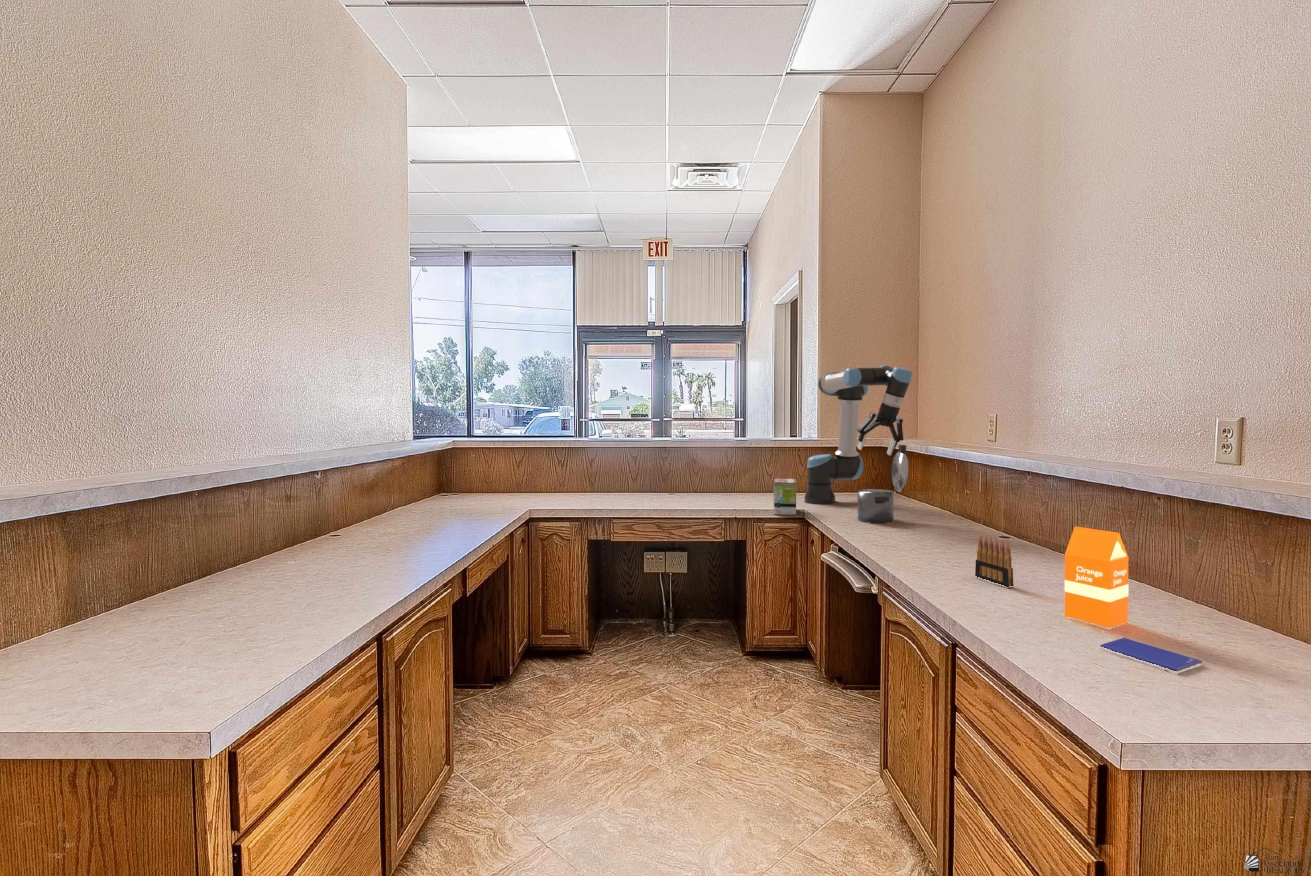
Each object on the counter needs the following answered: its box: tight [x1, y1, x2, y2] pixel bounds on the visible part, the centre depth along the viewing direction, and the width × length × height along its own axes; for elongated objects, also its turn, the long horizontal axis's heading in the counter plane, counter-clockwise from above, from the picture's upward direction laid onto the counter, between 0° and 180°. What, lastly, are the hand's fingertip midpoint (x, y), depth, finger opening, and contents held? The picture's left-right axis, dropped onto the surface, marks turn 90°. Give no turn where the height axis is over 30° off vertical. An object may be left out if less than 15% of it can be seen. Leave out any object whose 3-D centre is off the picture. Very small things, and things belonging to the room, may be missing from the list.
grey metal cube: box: [857, 488, 895, 524], centre depth 249 cm, size 18×14×12 cm
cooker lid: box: [891, 444, 910, 493], centre depth 248 cm, size 15×19×3 cm
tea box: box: [773, 478, 797, 516], centre depth 274 cm, size 15×10×15 cm, turn 168°
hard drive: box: [1099, 637, 1203, 672], centre depth 111 cm, size 2×8×12 cm
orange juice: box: [1064, 526, 1130, 628], centre depth 130 cm, size 8×9×20 cm
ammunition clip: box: [974, 534, 1014, 587], centre depth 159 cm, size 11×2×12 cm, turn 17°
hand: (874, 451), depth 254 cm, fingers open, 13 cm apart
